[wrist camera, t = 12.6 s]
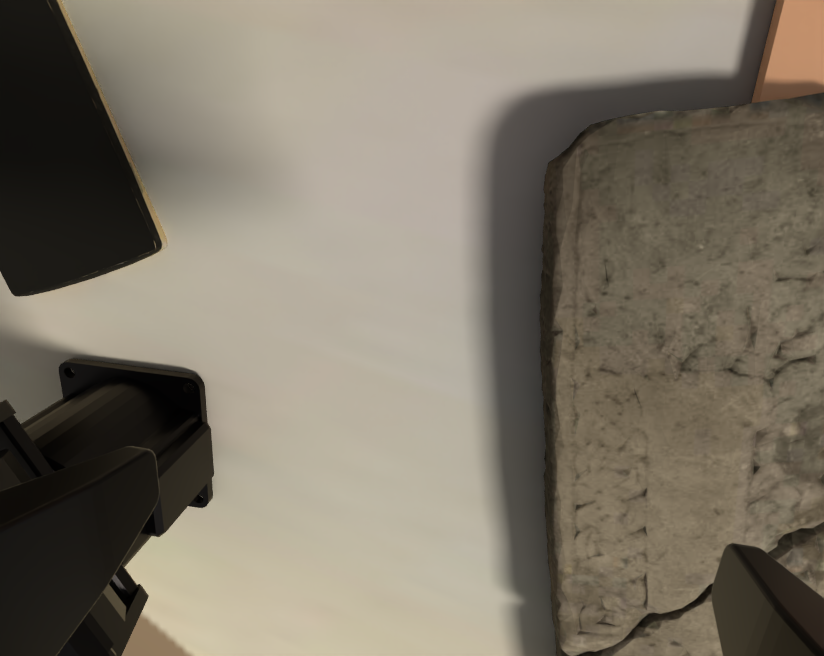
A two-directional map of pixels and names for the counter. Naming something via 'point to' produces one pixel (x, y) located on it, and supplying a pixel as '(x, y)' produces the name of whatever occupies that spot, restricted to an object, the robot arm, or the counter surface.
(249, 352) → the counter surface
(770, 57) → the tile
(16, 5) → the smartphone
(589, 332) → the stone slab
